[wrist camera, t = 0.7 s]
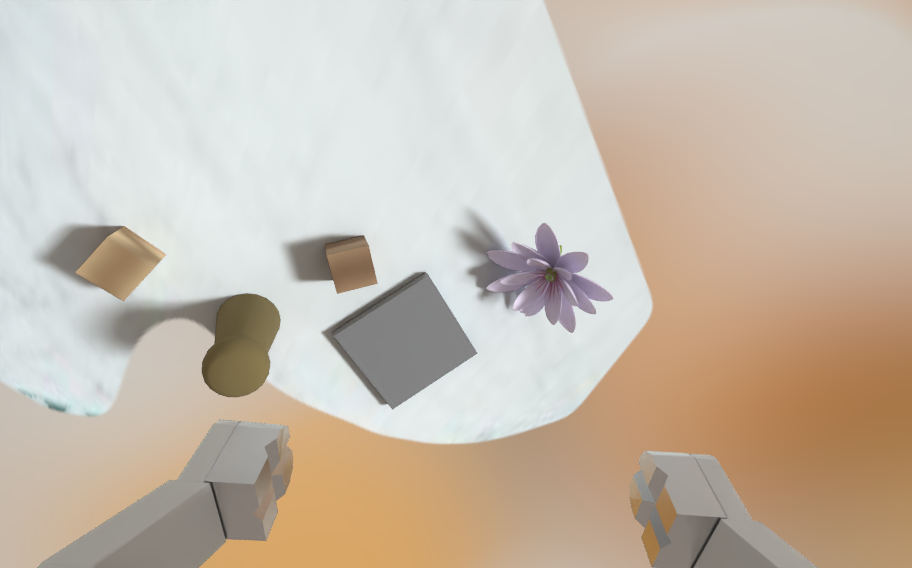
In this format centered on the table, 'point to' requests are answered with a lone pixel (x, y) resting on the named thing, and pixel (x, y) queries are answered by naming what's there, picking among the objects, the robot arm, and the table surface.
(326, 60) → the table surface
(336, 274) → the walnut block
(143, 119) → the table surface
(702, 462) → the robot arm
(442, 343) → the coaster
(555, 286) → the water lily
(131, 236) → the oak block
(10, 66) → the table surface
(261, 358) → the cork
